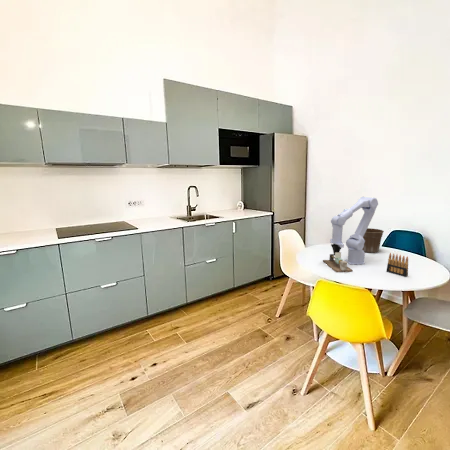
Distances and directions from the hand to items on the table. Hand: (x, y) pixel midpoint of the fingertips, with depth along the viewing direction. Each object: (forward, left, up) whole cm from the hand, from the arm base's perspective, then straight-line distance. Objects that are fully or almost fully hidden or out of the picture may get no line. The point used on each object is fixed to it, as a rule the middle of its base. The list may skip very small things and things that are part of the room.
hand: (336, 255), depth 167 cm
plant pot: (-39, -28, -7) cm, 48 cm away
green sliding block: (0, +4, -3) cm, 6 cm away
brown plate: (0, +2, -7) cm, 7 cm away
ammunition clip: (-28, +18, -7) cm, 34 cm away
